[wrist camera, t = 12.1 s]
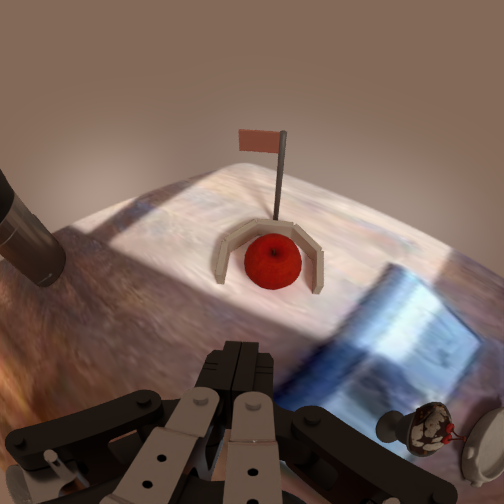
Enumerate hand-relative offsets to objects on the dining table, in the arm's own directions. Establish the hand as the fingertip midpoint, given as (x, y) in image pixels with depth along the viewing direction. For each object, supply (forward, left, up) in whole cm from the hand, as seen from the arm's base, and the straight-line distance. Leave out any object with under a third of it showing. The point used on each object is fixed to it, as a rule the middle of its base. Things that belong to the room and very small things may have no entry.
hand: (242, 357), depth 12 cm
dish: (+36, +26, -24) cm, 51 cm away
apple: (-13, +10, -24) cm, 29 cm away
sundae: (+17, +13, -24) cm, 32 cm away
